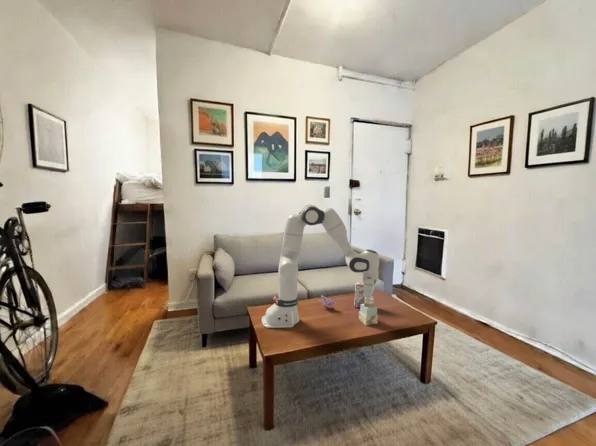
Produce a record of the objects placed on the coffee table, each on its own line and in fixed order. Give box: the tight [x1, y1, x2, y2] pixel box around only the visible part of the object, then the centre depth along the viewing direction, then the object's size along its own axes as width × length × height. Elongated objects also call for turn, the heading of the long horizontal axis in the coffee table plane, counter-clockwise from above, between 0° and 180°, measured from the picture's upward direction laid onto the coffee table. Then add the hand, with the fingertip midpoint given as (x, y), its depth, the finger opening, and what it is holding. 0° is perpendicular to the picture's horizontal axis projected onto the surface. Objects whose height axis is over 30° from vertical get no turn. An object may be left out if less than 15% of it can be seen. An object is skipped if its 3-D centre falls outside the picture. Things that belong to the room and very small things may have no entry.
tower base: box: [358, 310, 379, 326], centre depth 162 cm, size 8×8×5 cm
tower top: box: [359, 304, 378, 317], centre depth 161 cm, size 7×7×5 cm
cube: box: [364, 295, 375, 308], centre depth 161 cm, size 5×5×5 cm
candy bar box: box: [353, 281, 365, 309], centre depth 182 cm, size 11×5×16 cm, turn 84°
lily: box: [317, 294, 338, 310], centre depth 178 cm, size 12×12×10 cm
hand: (369, 299), depth 161 cm, fingers open, 8 cm apart
